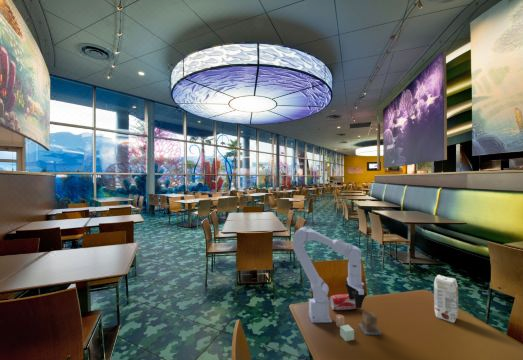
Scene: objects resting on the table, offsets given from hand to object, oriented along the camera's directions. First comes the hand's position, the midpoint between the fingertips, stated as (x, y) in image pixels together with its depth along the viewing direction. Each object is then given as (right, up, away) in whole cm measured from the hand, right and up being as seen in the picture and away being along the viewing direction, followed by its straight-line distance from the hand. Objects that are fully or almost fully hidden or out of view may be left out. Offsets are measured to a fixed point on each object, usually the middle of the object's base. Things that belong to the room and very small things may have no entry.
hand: (355, 303), depth 109 cm
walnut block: (+5, -9, -4) cm, 11 cm away
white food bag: (+46, -10, +5) cm, 47 cm away
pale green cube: (-7, -10, -9) cm, 15 cm away
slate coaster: (+5, -10, -4) cm, 12 cm away
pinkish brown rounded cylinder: (-7, -10, 0) cm, 12 cm away
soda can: (+7, -7, +15) cm, 18 cm away
